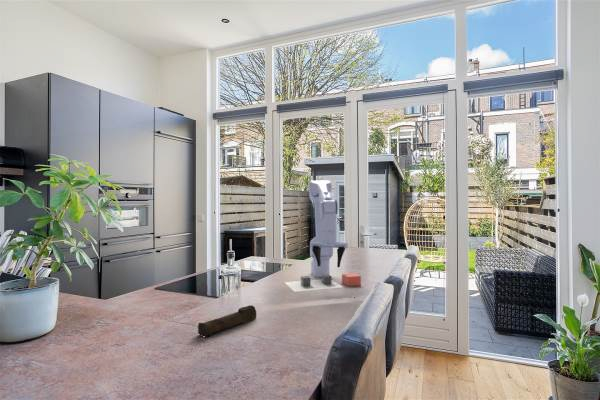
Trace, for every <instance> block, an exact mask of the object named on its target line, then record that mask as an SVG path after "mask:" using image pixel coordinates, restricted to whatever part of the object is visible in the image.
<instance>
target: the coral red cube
mask: <svg viewBox="0 0 600 400" xmlns="http://www.w3.org/2000/svg"><path fill="white" fill-rule="evenodd" d="M361 277H362V276H361V275H359V274H357V273H355V272H352V273H342V274H341V282H342V284H343V285H345V286H347V287H352V286H353V287H355V286H360V287H361V286H362V278H361Z"/></svg>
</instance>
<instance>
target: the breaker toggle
mask: <svg viewBox="0 0 600 400" xmlns="http://www.w3.org/2000/svg"><path fill="white" fill-rule="evenodd" d="M310 280H311V277H310V276H309V275H303V276H302V275H301V276H300V281H301V284H302V285H303V286H306V285H310Z"/></svg>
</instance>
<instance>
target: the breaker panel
mask: <svg viewBox="0 0 600 400" xmlns="http://www.w3.org/2000/svg"><path fill="white" fill-rule="evenodd" d="M284 284H285V285H287V287H289V289H290V290H292V291H293V292H294V293H296V292H307V291H308V292H309V291H319V290H321V291H322V290H330V289H342V288H344V286H343V285H341V284H339V283H338V282H336V281H335V280H333V278H332V275H322V277H321V279H320V278H317V279H310V285H306V286H303V285H302V284H301V280H296V281H295V280H294V281H284Z"/></svg>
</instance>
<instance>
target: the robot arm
mask: <svg viewBox="0 0 600 400" xmlns="http://www.w3.org/2000/svg"><path fill="white" fill-rule="evenodd" d="M332 189H333V188H332V181H331V180H330V179H329V180H309V181H308V198H309V200H310V201H312V202H313V205H314V220H315V221H314V225H315V236H314V237H313V238H312V239H311V240H310V242H309V255H310V258H311V259H312V260H311V261H310V262H311V263H310V264H311V265H310V266H311V267H310V269H311V274H312V275H313V276H314V277H315V278H316V277H317V278H322V275H330V268H331V267H330V260H331V258H332V257H333V256H334V248H335V249H337V250H336V253H337V263H336V265H337V268H340V267H341V261H342V259H343V256H344V253H345V251H346V249H348V247H349V244H348V242H341V241H340V242H339V241H337V215H338V212H339V211H338V210H339V207H338V206H339V205H338V200H337V199H334V197H333V195H332ZM330 276H331V275H330Z"/></svg>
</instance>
